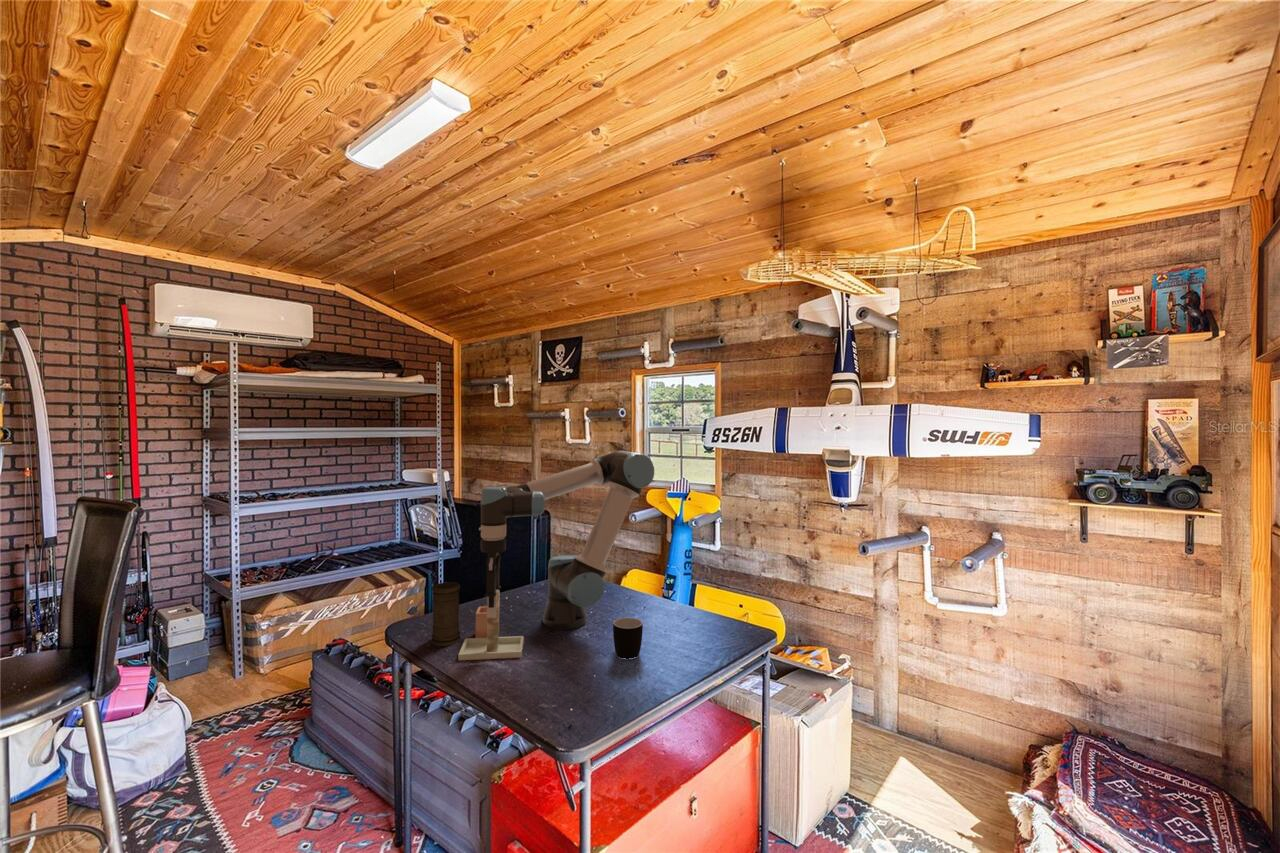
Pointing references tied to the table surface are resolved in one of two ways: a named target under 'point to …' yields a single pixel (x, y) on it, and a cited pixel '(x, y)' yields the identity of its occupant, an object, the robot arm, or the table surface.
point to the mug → (627, 637)
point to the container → (445, 614)
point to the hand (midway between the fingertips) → (492, 613)
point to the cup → (481, 622)
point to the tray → (478, 650)
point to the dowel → (493, 628)
